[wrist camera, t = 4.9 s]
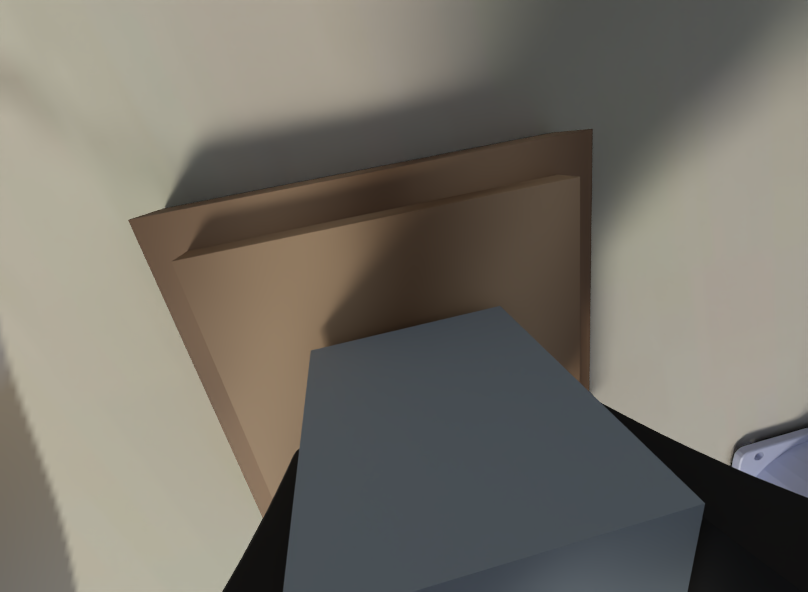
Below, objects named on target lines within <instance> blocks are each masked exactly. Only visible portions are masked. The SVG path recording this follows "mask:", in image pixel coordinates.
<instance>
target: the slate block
mask: <svg viewBox="0 0 808 592" xmlns="http://www.w3.org/2000/svg"><path fill="white" fill-rule="evenodd" d="M704 506H705V503H704V502H703V501H702V500H701V499H700V498H699V497H698V496H697V495H696V494H695V493H694V492H693V491H692V490H691V489H690V488H689V487H688V486H687V485H685V484H684V483H683V482H682V481H681V480H680V479H679V478H678V477H677V476H676V475H675V474H674V473H673V472H672V471H671V470H670V469H669V468H668V467H667V466H666V465H665V464H664V463H663V462H662V461H661V460H660V459H659V458H657V457H656V456H655V455H654V454H653V453H652V452H651V451H650V450H649V449H648V448H647V447H646V446H645V445H644V444H643V443H642V442H641V441H640V440H639V439H638V438H637V437H636V436H635V435H634V434H633V433H632V432H630V431H629V430H628V429H627V428H626V427H625V426H624V425H623V424H622V423H621V422H620V421H619V420H618V419H617V418H616V417H615V416H614V415H613V414H612V413H611V412H610V411H609V410H608V409H607V408H606V407H605V406H604V405H602V404H601V403H600V402H599V401H598V400H597V399H596V398H595V397H594V396H593V395H592V394H591V393H590V392H589V391H588V390H587V389H586V388H585V387H584V386H583V385H582V384H581V383H580V382H579V381H578V380H577V379H575V378H574V377H573V376H572V375H571V374H570V373H569V372H568V371H567V370H566V369H565V368H564V367H563V366H562V365H561V364H560V363H559V362H558V361H557V360H556V359H555V358H554V357H553V356H552V355H551V354H550V353H548V352H547V351H546V350H545V349H544V348H543V347H542V346H541V345H540V344H539V343H538V342H537V341H536V340H535V339H534V338H533V337H532V336H531V335H530V334H529V333H528V332H527V331H526V330H525V329H524V328H523V327H522V326H520V325H519V324H518V323H517V322H516V321H515V320H514V319H513V318H512V317H511V316H510V315H509V314H508V313H507V312H506V311H505V310H504V309H503V308H502V307H501V306H497V307H493V308H489V309H485V310H480V311H476V312H472V313H468V314H463V315H459V316H455V317H451V318H446V319H442V320H438V321H434V322H430V323H425V324H421V325H417V326H413V327H408V328H404V329H400V330H396V331H391V332H387V333H383V334H379V335H374V336H370V337H366V338H362V339H358V340H353V341H349V342H345V343H341V344H336V345H332V346H328V347H324V348H319V349H315V350H311V353H310V361H309V370H308V379H307V387H306V396H305V405H304V413H303V422H302V431H301V439H300V448H299V457H298V465H297V474H296V483H295V491H294V500H293V509H292V517H291V526H290V535H289V544H288V552H287V561H286V570H285V578H284V587H283V592H687V591H688V586H689V581H690V576H691V571H692V566H693V561H694V556H695V551H696V546H697V541H698V536H699V531H700V526H701V521H702V516H703V511H704Z"/></svg>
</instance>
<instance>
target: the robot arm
mask: <svg viewBox="0 0 808 592" xmlns="http://www.w3.org/2000/svg"><path fill="white" fill-rule="evenodd" d="M601 404H602V403H601ZM602 405H604V404H602ZM604 406H605V407H606V408H607V409H608V410H609V411H610V412H611V413H612V414H613V415H614V416H615V417H616V418H617V419H618V420H619V421H620V422H621V423H622V424H623V425H624V426H625V427H626V428H627V429H628V430H629V431H630V432H632V433H633V434H634V435H635V436H636V437H637V438H638V439H639V440H640V441H641V442H642V443H643V444H644V445H645V446H646V447H647V448H648V449H649V450H650V451H651V452H652V453H653V454H654V455H655V456H656V457H657V458H659V459H660V460H661V461H662V462H663V463H664V464H665V465H666V466H667V467H668V468H669V469H670V470H671V471H672V472H673V473H674V474H675V475H676V476H677V477H678V478H679V479H680V480H681V481H682V482H683V483H684V484H685V485H687V486H688V487H689V488H690V489H691V490H692V491H693V492H694V493H695V494H696V495H697V496H698V497H699V498H700V499H701V500H702V501H703V502H704V503H705V506H704V511H703V516H702V521H701V526H700V531H699V536H698V541H697V546H696V551H695V556H694V561H693V566H692V571H691V576H690V581H689V586H688V591H687V592H808V428H804V429H801V430H797V431H794V432H790V433H787V434H784V435H780V436H777V437H773V438H770V439H766V440H763V441H759V442H756V443H752V444H749V445H746V446H743V447H740V448H739V449H738V450H737V451H736V452H735V454H734V458H733V462H732V467H731V466H729V465H726V464H724V463H722V462H720V461H718V460H715V459H713V458H711V457H709V456H707V455H705V454H702V453H700V452H698V451H696V450H694V449H691V448H689V447H687V446H685V445H683V444H681V443H679V442H677V441H675V440H672V439H670V438H668V437H666V436H664V435H662V434H660V433H658V432H656V431H654V430H652V429H650V428H648V427H646V426H644V425H642V424H640V423H638V422H636V421H634V420H633V419H631V418H629V417H627V416H625V415H623V414H621V413H619V412H617V411H615V410H613V409H612V408H610V407H608V406H606V405H604ZM298 457H299V449H298V450H297V451H296V452H295V454H294V455H293V457H292V459H291V462H290V464H289V466H288V468H287V470H286V472H285V474H284V477H283V479H282V481H281V483H280V485H279V487H278V489H277V491H276V493H275V495H274V497H273V499H272V501H271V503H270V505H269V507H268V509H267V511H266V513H265V515H264V517H263V519H262V521H261V523H260V525H259V527H258V528H257V530H256V532H255V534H254V536H253V538H252V540H251V542H250V544H249V546H248V548H247V549H246V551H245V553H244V555H243V557H242V558H241V560H240V562H239V564H238V565H237V567H236V569H235V571H234V572H233V574H232V576H231V578H230V579H229V581H228V583H227V584H226V586H225V588H224V590H223V591H222V592H283V587H284V578H285V570H286V561H287V552H288V544H289V535H290V526H291V517H292V509H293V500H294V491H295V483H296V474H297V465H298Z"/></svg>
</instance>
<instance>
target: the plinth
mask: <svg viewBox="0 0 808 592" xmlns="http://www.w3.org/2000/svg"><path fill="white" fill-rule="evenodd" d="M592 134H593V129H586V130H576V131H565V132H554V133H548V134H543V135H538V136H533V137H528V138H523V139H518V140H513V141H507V142H502V143H497V144H492V145H487V146H482V147H477V148H471V149H466V150H461V151H456V152H451V153H446V154H441V155H436V156H430V157H425V158H420V159H415V160H410V161H405V162H400V163H395V164H389V165H384V166H379V167H374V168H369V169H364V170H359V171H354V172H348V173H343V174H338V175H333V176H328V177H323V178H318V179H313V180H307V181H302V182H297V183H292V184H287V185H282V186H277V187H272V188H266V189H261V190H256V191H251V192H246V193H241V194H236V195H231V196H225V197H220V198H215V199H210V200H205V201H200V202H195V203H190V204H184V205H179V206H174V207H169V208H164V209H161V210H157V211H154V212H151V213H148V214H145V215H142V216H139V217H136V218H133V219H130V220H128V221H129V223H130V225H131V227H132V229H133V232H134V234H135V236H136V238H137V240H138V243H139V245H140V247H141V249H142V252H143V254H144V256H145V258H146V260H147V263H148V265H149V267H150V269H151V271H152V274H153V276H154V278H155V280H156V283H157V285H158V287H159V289H160V291H161V294H162V296H163V298H164V300H165V302H166V305H167V307H168V309H169V311H170V313H171V316H172V318H173V320H174V322H175V325H176V327H177V329H178V331H179V333H180V336H181V338H182V340H183V342H184V344H185V347H186V349H187V351H188V353H189V356H190V358H191V360H192V362H193V364H194V367H195V369H196V371H197V373H198V375H199V378H200V380H201V382H202V384H203V387H204V389H205V391H206V393H207V395H208V398H209V400H210V402H211V404H212V406H213V409H214V411H215V413H216V415H217V418H218V420H219V422H220V424H221V426H222V429H223V431H224V433H225V435H226V437H227V440H228V442H229V444H230V446H231V448H232V451H233V453H234V455H235V457H236V460H237V462H238V464H239V466H240V468H241V471H242V473H243V475H244V477H245V479H246V482H247V484H248V486H249V488H250V491H251V493H252V495H253V497H254V499H255V502H256V504H257V506H258V508H259V510H260V513H261V515H262V517H264V515H265V513H266V511H267V509H268V507H269V505H270V503H271V501H272V499H273V497H274V495H275V493H276V491H277V489H278V487H279V485H280V483H281V481H282V479H283V477H284V474H285V472H286V470H287V468H288V466H289V464H290V462H291V459H292V457H293V455H294V454H295V452H296V451H297V450H298V449H299V448H300V439H301V431H302V422H303V413H304V405H305V396H306V387H307V379H308V370H309V361H310V353H311V350H315V349H319V348H324V347H328V346H332V345H336V344H341V343H345V342H349V341H353V340H358V339H362V338H366V337H370V336H374V335H379V334H383V333H387V332H391V331H396V330H400V329H404V328H408V327H413V326H417V325H421V324H425V323H430V322H434V321H438V320H442V319H446V318H451V317H455V316H459V315H463V314H468V313H472V312H476V311H480V310H485V309H489V308H493V307H497V306H501V307H502V308H503V309H504V310H505V311H506V312H507V313H508V314H509V315H510V316H511V317H512V318H513V319H514V320H515V321H516V322H517V323H518V324H519V325H520V326H522V327H523V328H524V329H525V330H526V331H527V332H528V333H529V334H530V335H531V336H532V337H533V338H534V339H535V340H536V341H537V342H538V343H539V344H540V345H541V346H542V347H543V348H544V349H545V350H546V351H547V352H548V353H550V354H551V355H552V356H553V357H554V358H555V359H556V360H557V361H558V362H559V363H560V364H561V365H562V366H563V367H564V368H565V369H566V370H567V371H568V372H569V373H570V374H571V375H572V376H573V377H574V378H575V379H577V380H578V381H579V382H580V383H581V384H582V385H583V386H584V387H585V388H586V389H587V390H588V391H589V367H590V289H591V212H592Z"/></svg>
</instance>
